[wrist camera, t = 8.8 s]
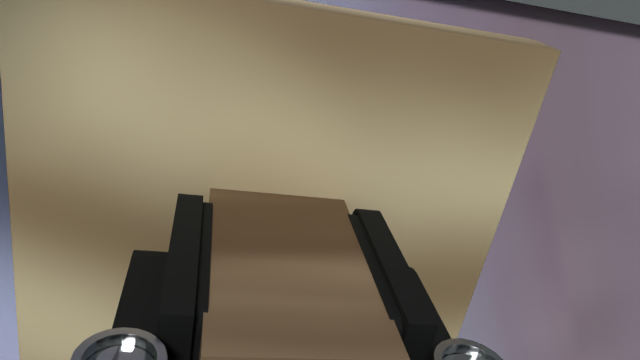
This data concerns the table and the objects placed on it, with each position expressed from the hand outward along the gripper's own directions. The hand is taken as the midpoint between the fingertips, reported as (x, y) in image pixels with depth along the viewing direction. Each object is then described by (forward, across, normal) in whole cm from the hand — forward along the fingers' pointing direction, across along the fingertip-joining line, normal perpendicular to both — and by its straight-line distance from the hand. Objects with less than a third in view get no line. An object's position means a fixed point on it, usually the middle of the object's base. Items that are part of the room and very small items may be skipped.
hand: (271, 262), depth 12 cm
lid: (+2, 0, 0) cm, 2 cm away
